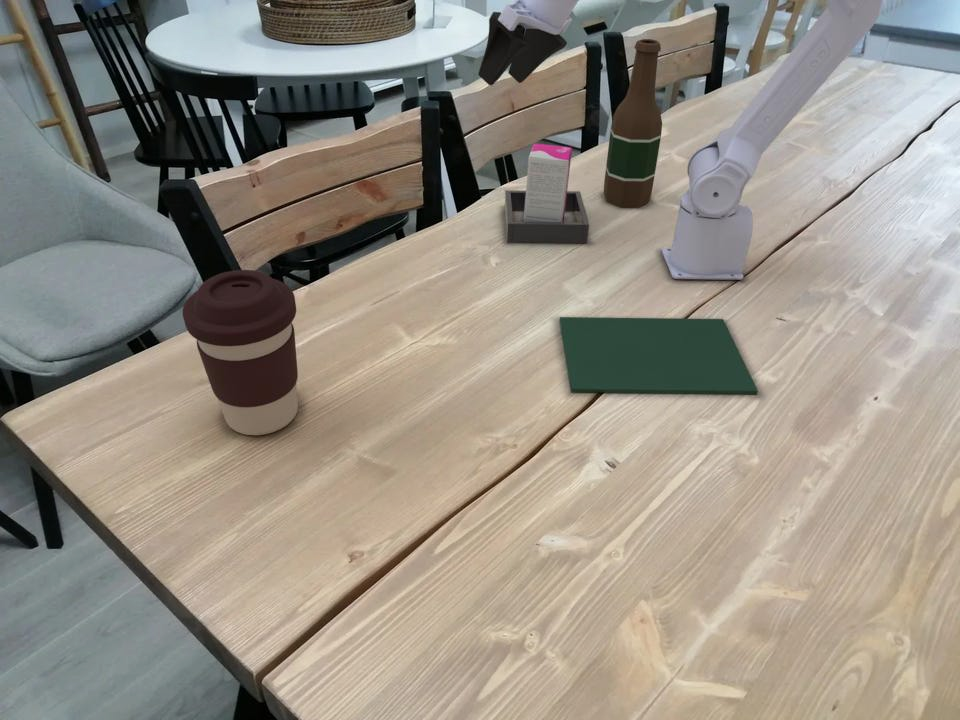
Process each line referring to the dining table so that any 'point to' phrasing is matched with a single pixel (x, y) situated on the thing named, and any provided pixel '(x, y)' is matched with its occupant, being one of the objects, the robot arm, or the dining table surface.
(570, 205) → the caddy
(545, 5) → the robot arm
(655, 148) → the beer bottle
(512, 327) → the dining table surface
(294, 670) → the dining table surface
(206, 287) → the coffee cup
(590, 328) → the mat
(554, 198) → the supplement box
